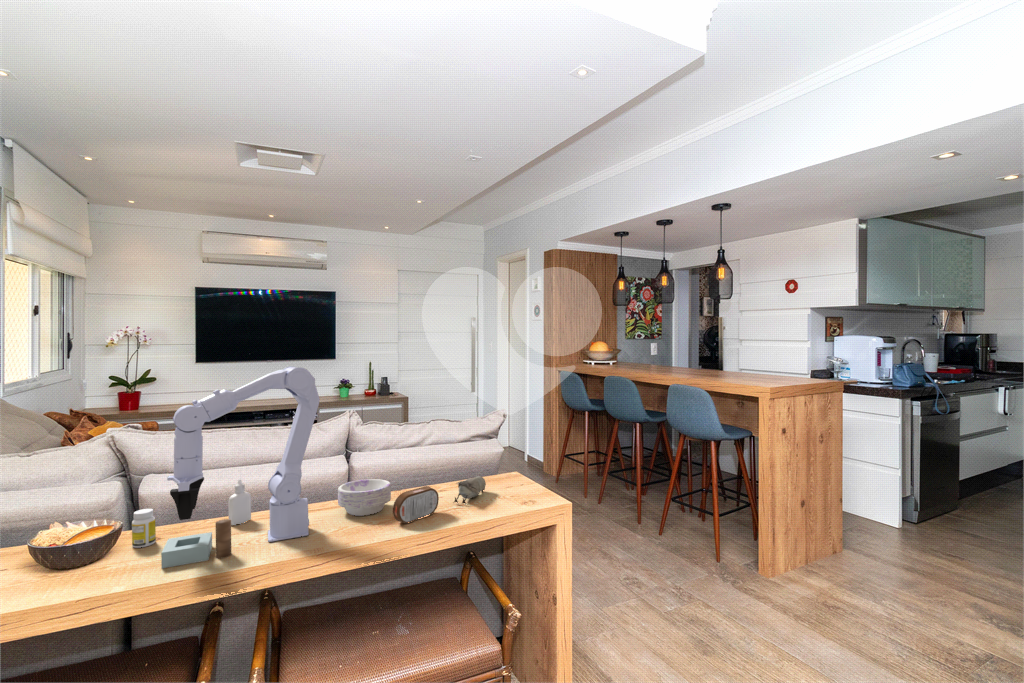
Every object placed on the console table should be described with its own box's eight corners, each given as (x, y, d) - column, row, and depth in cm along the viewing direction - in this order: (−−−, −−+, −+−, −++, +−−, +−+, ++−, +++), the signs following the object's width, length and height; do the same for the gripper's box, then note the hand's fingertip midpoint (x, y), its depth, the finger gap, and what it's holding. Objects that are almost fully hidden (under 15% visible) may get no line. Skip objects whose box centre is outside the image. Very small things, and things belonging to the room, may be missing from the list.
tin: (433, 510, 148) (433, 482, 148) (440, 513, 146) (440, 484, 146) (391, 525, 136) (391, 494, 136) (398, 528, 134) (398, 497, 134)
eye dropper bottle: (228, 522, 140) (227, 479, 140) (250, 518, 143) (250, 476, 143) (229, 527, 136) (228, 483, 136) (252, 522, 139) (251, 480, 139)
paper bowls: (364, 500, 158) (364, 475, 158) (401, 507, 151) (401, 481, 151) (326, 515, 145) (326, 488, 145) (365, 523, 138) (364, 495, 138)
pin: (231, 551, 120) (231, 518, 120) (231, 556, 117) (230, 522, 117) (216, 554, 119) (216, 520, 119) (215, 559, 116) (214, 524, 116)
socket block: (212, 546, 123) (211, 532, 123) (208, 560, 115) (208, 545, 115) (168, 553, 119) (168, 538, 119) (161, 568, 111) (161, 552, 111)
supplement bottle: (152, 539, 128) (152, 506, 128) (158, 543, 125) (157, 510, 125) (129, 545, 124) (129, 511, 124) (135, 550, 121) (134, 515, 121)
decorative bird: (490, 492, 165) (490, 470, 165) (466, 508, 151) (466, 483, 151) (476, 491, 167) (475, 469, 167) (451, 505, 153) (450, 481, 153)
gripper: (173, 452, 122) (172, 507, 122) (162, 464, 109) (161, 526, 109) (206, 449, 125) (206, 503, 125) (199, 461, 112) (199, 521, 112)
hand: (187, 514), depth 117 cm, fingers open, 7 cm apart
